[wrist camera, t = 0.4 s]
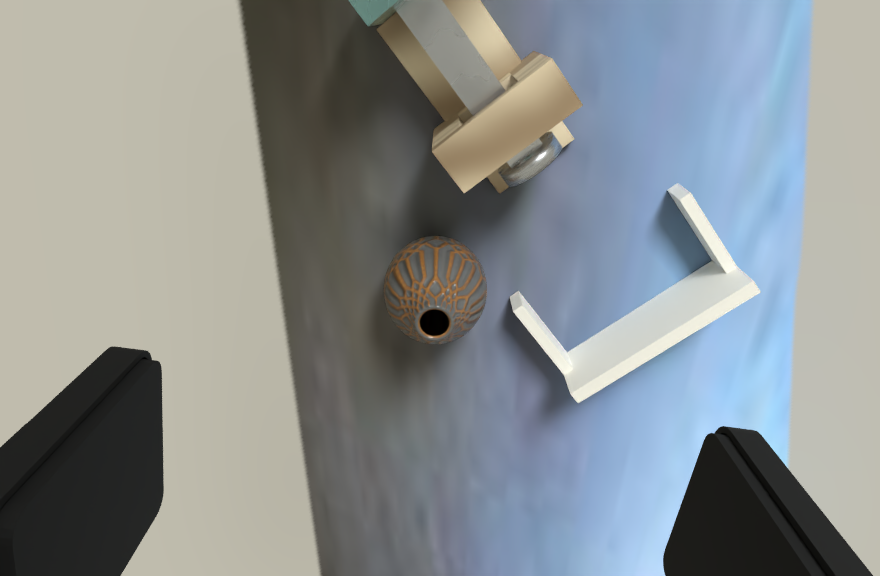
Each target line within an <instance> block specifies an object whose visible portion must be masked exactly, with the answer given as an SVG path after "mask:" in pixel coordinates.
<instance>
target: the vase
mask: <svg viewBox="0 0 880 576" xmlns="http://www.w3.org/2000/svg"><path fill="white" fill-rule="evenodd" d="M486 297H487V284H486V278H485V274H484V271H483V268H482V266H481V264H480V262H479V260H478V259H477V257H476V256H475V255H474V253H473V252H472V251H471V250H470V249H469V248H467V247H466V246H465V245H463V244H462V243H460V242H458V241H456V240H454V239H451V238H448V237H443V236H428V237H423V238H420V239H417V240H415V241H413V242H411V243H409V244H407V245H406V246H405V247H404V248H402V249H401V250H400V251H399V252H398V253H397V254H396V256H395V257H394V258H393V260H392V262H391V264H390V266H389V268H388V270H387V273H386V277H385V282H384V299H385V304H386V307H387V310H388V312H389V315H390V317H391V318H392V320H393V322H394V323H395V324H396V326H397V327H398V328H399V329H400V330H401V331H402V332H403V333H405V334H406V335H407V336H409V337H410V338H412V339H414V340H417V341H419V342H423V343H427V344H443V343H448V342H451V341H454V340H456V339H458V338H460V337H462V336H463V335H465V334H466V333H467V332H468V331H469V330H471V328H472V327H473V326H474V325H475V324H476V322H477V321H478V319H479V318H480V316H481V314H482V312H483V309H484V306H485V302H486Z"/></svg>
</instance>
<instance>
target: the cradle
mask: <svg viewBox="0 0 880 576" xmlns="http://www.w3.org/2000/svg"><path fill="white" fill-rule="evenodd" d="M667 191H668V192H669V194H670V195H671V197H672V198H673V200H674V202H675V203H676V205H677V206H678V208H679V209H680V211H681V212H682V214H683V216H684V217H685V219H686V220H687V222H688V223H689V225H690V226H691V228H692V230H693V231H694V233H695V234H696V236H697V237H698V239H699V240H700V242H701V244H702V245H703V247H704V248H705V250H706V251H707V253H708V254H709V256H710V258H711V259H712V261H710V262H709V263H707V264H706V265H704V266H703V267H701V268H699V269H698V270H696V271H695V272H693V273H691V274H690V275H688V276H687V277H685V278H684V279H682V280H680V281H679V282H677V283H676V284H674V285H673V286H671V287H669V288H668V289H666V290H665V291H663V292H662V293H660V294H658V295H657V296H655V297H654V298H652V299H651V300H649V301H647V302H646V303H644V304H643V305H641V306H640V307H638V308H636V309H635V310H633V311H632V312H630V313H629V314H627V315H625V316H624V317H622V318H621V319H619V320H618V321H616V322H614V323H613V324H611V325H610V326H608V327H606V328H605V329H603V330H602V331H600V332H599V333H597V334H595V335H594V336H592V337H591V338H589V339H588V340H586V341H584V342H583V343H581V344H580V345H578V346H577V347H575V348H573V349H572V350H570V351H569V352H566V351H565V349H564V348H563V347H562V345H561V344H560V343H559V342H558V340H557V339H556V338H555V337H554V335H553V334H552V333H551V331H550V330H549V329H548V328H547V326H546V325H545V324H544V323H543V321H542V320H541V319H540V317H539V316H538V315H537V314H536V312H535V311H534V310H533V309H532V307H531V306H530V305H529V303H528V302H527V301H526V300H525V298H524V297H523V296H522V295H521V293H520V292H519V291H518V292H516V293H515V294H513V295H512V296H510V301H511V305H512V309H513V312H514V313H515V315H516V316H517V317H518V318H519V319H520V321H521V322H522V323H523V324H524V326H525V327H526V328H527V329H528V331H529V332H530V333H531V334H532V336H533V337H534V338H535V339H536V341H537V342H538V343H539V344H540V346H541V347H542V348H543V349H544V351H545V352H546V353H547V354H548V356H549V357H550V358H551V359H552V361H553V362H554V363H555V364H556V366H557V367H558V368H559V369H560V371H561V372H562V373H563V374H564V377H565V380H566V383H567V386H568V388H569V391H570V394H571V395H572V397H573V398H574V399H575V400H576V401H577V403H580V402H581V401H583V400H584V399H586V398H588V397H589V396H591V395H593V394H594V393H596V392H598V391H599V390H601V389H602V388H604V387H606V386H607V385H609V384H611V383H612V382H614V381H616V380H617V379H619V378H621V377H622V376H624V375H625V374H627V373H629V372H630V371H632V370H634V369H635V368H637V367H639V366H640V365H642V364H644V363H645V362H647V361H648V360H650V359H652V358H653V357H655V356H657V355H658V354H660V353H662V352H663V351H665V350H667V349H668V348H670V347H671V346H673V345H675V344H676V343H678V342H680V341H681V340H683V339H685V338H686V337H688V336H690V335H691V334H693V333H694V332H696V331H698V330H699V329H701V328H703V327H704V326H706V325H708V324H709V323H711V322H713V321H714V320H716V319H717V318H719V317H721V316H722V315H724V314H726V313H727V312H729V311H731V310H732V309H734V308H736V307H737V306H739V305H740V304H742V303H744V302H745V301H747V300H749V299H750V298H752V297H754V296H755V295H757V294H759V293H760V290H759V289H758V287H757V285H756V284H755V282H754V281H753V280H752V279H751V278H750V277H749V276H747V275H746V274H745V273H744V272H743V271H742V270H740V269H739V268H738V267H737V266H736V264H735V262H734V261H733V259H732V258H731V256H730V255H729V253H728V251H727V250H726V248H725V247H724V245H723V243H722V242H721V240H720V239H719V237H718V235H717V234H716V232H715V231H714V229H713V228H712V226H711V224H710V223H709V221H708V220H707V218H706V216H705V215H704V213H703V212H702V210H701V208H700V207H699V205H698V204H697V202H696V201H695V199H694V197H693V196H692V194H691V193H690V192H689V191H688V190H686V189H685V188H684V187H682V186H681V185H679V184H678V183H677V184H675V185H674V186H672V187H671V188H669V189H668V190H667Z"/></svg>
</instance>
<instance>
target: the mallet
mask: <svg viewBox="0 0 880 576" xmlns="http://www.w3.org/2000/svg"><path fill="white" fill-rule="evenodd" d="M348 1H349V2H350V3H351V5H352V6H353V7H354V9H355V10H356V11H357V13H358V14H359V15H360V17H361V18H362V19H363V21H364V22H365V23H366V25H367V26H374V25H380V24H382V23H383V22H385V21H386V20H387V19H388V18H389V17H390V16H392V15H393V14H394V13H395V12H396V11H397V13H398V14H399V15H400V17H401V18H402V19H403V21H404V22H405V24H406V25H407V26H408V28H409V29H410V30H411V32H412V33H413V35H414V36H415V37H416V39H417V40H418V41H419V43H420V44H421V45H422V47H423V48H424V50H425V51H426V52H427V54H428V55H429V56H430V58H431V59H432V61H433V62H434V63H435V65H436V66H437V67H438V69H439V70H440V71H441V73H442V74H443V76H444V77H445V78H446V80H447V81H448V82H449V84H450V85H451V87H452V88H453V89H454V91H455V92H456V93H457V95H458V96H459V97H460V99H461V100H462V102H463V103H464V104H465V106H466V107H467V108H468V110H469V111H470V113H471V114H472V115H473V116H474V115H475V114H477V113H478V112H479V111H481V110H482V109H483V108H484V107H486V106H487V105H488V104H490V103H491V102H492V101H493V100H495V99H496V98H497V97H499V96H500V95H501V94H502V93H504V92H505V89H504V88H503V86H502V85H501V83H500V82H499V81H498V79H497V78H496V76H495V75H494V73H493V72H492V71H491V69H490V68H489V66H488V65H487V63H486V62H485V61H484V59H483V58H482V56H481V55H480V53H479V52H478V51H477V49H476V48H475V46H474V45H473V43H472V42H471V41H470V39H469V38H468V36H467V35H466V33H465V32H464V31H463V29H462V28H461V26H460V25H459V24H458V22H457V21H456V19H455V18H454V16H453V15H452V14H451V12H450V11H449V9H448V8H447V6H446V5H445V4H444V2H443V1H442V0H348ZM561 150H562V146H561V144H560V143H559V141H558V140H557V138H556V137H555V135H554V134H553V133H552V132H546V133H545V134H544V135H542V136H541V137H540V138H538V139H537V140H536V141H534V142H533V143H531V144H530V145H529V146H527V147H526V148H525V149H523V150H522V151H521V152H519V153H518V154H517V155H515V156H514V157H513V158H511V159H510V160H509V161H507V162H506V163H505V164H503V165H502V166H501V167H500V168H499V170H498V173H499V174H500V176H501V177H502V178H503V180H504V181H505V182H506V184H507V185H508V186H509V187H513V186H517V185H519V184H522V183H524V182H525V181H527V180H529V179H531V178H532V177H534V176H535V175H537V174H538V173H540V172H541V171H542V170H543V169H545V168H546V167H547V166H548V165H549V164H550V163H551V162H552V161H553V160H554V159H555V158H556V157H557V156H558V155H559V153H560V152H561Z"/></svg>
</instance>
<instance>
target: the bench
mask: <svg viewBox="0 0 880 576" xmlns="http://www.w3.org/2000/svg"><path fill="white" fill-rule="evenodd" d="M442 1H443V2H444V4H445V5H446V6H447V8H448V9H449V11H450V12H451V14H452V15H453V16H454V18H455V19H456V21H457V22H458V24H459V25H460V26H461V28H462V29H463V31H464V32H465V33H466V35H467V36H468V38H469V39H470V41H471V42H472V43H473V45H474V46H475V48H476V49H477V51H478V52H479V53H480V55H481V56H482V58H483V59H484V61H485V62H486V63H487V65H488V66H489V68H490V69H491V71H492V72H493V73H494V75H495V76H496V78H497V79H498V81H499V82H500V83H501V85H502V86H503V88H504V89H505V92H504V93H502V94H501V95H500V96H499V97H497V98H496V99H495V100H493V101H492V102H491V103H490V104H488V105H487V106H486V107H484V108H483V109H482V110H481V111H479V112H478V113H477V114H475V115H474V116H473V115H472V114H471V113H470V111H469V110H468V108H467V107H466V106H465V104H464V103H463V102H462V100H461V99H460V97H459V96H458V95H457V93H456V92H455V91H454V89H453V88H452V87H451V85H450V84H449V82H448V81H447V80H446V78H445V77H444V76H443V74H442V73H441V71H440V70H439V69H438V67H437V66H436V65H435V63H434V62H433V61H432V59H431V58H430V56H429V55H428V54H427V52H426V51H425V50H424V48H423V47H422V45H421V44H420V43H419V41H418V40H417V39H416V37H415V36H414V35H413V33H412V32H411V30H410V29H409V28H408V26H407V25H406V24H405V22H404V21H403V19H402V18H401V17H400V15H399V14H398V13H397V12H396V13H395V14H394V15H392V16H391V17H390V18H389V19H388V20H387V21H385V22H384V23H383V24H382V25H381V26H380V27H378V28H377V29H376V30H377V31H378V32H379V34H380V35H381V36H382V38H383V39H384V40H385V42H386V43H387V44H388V46H389V47H390V48H391V50H392V51H393V52H394V54H395V55H396V56H397V58H398V59H399V60H400V62H401V63H402V64H403V66H404V67H405V68H406V70H407V71H408V72H409V74H410V75H411V76H412V78H413V79H414V80H415V82H416V83H417V84H418V86H419V87H420V88H421V90H422V91H423V92H424V94H425V95H426V96H427V98H428V99H429V100H430V102H431V103H432V104H433V106H434V107H435V108H436V110H437V111H438V112H439V114H440V115H441V116H442V118H443V119H444V120H445V121H444V122H443V123H441V124H440V125H439V126H437V127H436V128H435V129H434V131H433V143H432V153H433V154H434V155H435V157H436V158H437V159H438V160H439V162H440V163H441V164H442V166H443V167H444V168H445V169H446V171H447V172H448V173H449V175H450V176H451V177H452V179H453V180H454V181H455V182H456V184H457V185H458V186H459V188H460V189H461V190H462V191H463V193H466V192H467V191H468V190H470V189H471V188H472V187H474V186H475V185H476V184H478V183H479V182H480V181H482V180H483V179H484V178H486V177H487V178H488V179H489V180H490V182H491V183H492V184H493V186H494V187H495V188H496V190H497V191H498V192H499V194H500V193H501V192H503V191H504V190H506V189H507V188H508V187H509V186H508V185H507V184H506V182H505V181H504V180H503V178H502V177H501V176H500V174H499V173H498V170H499V168H500V167H501V166H502V165H503V164H505V163H506V162H507V161H509V160H510V159H511V158H513V157H514V156H515V155H517V154H518V153H519V152H521V151H522V150H523V149H525V148H526V147H527V146H529V145H530V144H531V143H533V142H534V141H536V140H537V139H538V138H540V137H541V136H542V135H544V134H545V133H546V132H552V133H553V134H554V135H555V137H556V138H557V140H558V141H559V143H560V144H561V146H562V148H563V147H564V146H566V145H567V144H568V143H570V142H571V141H573V140H574V138H573V136H572V135H571V133H570V132H569V130H568V129H567V127H566V126H565V125H564V123H563V122H562V120H564V119H565V118H566V117H568V116H569V115H571V114H572V113H573V112H575V111H576V110H577V109H579V108H580V107H581V106H583V104H582V103H581V101H580V100H579V98H578V97H577V95H576V94H575V92H574V91H573V89H572V88H571V86H570V85H569V83H568V82H567V80H566V79H565V77H564V76H563V74H562V73H561V71H560V70H559V68H558V67H557V65H556V64H555V62H554V61H553V59H552V58H550V57H547V56H545V55H542V54H540V53H537V52H535V51H533V52H532V53H530V54H529V55H528V56H527V57H525V58H524V59H523V60H520V58H519V57H518V55H517V54H516V52H515V51H514V49H513V48H512V47H511V45H510V44H509V42H508V41H507V39H506V38H505V36H504V35H503V33H502V32H501V30H500V29H499V27H498V26H497V24H496V23H495V22H494V20H493V19H492V17H491V16H490V14H489V13H488V11H487V10H486V8H485V7H484V5H483V4H482V2H481V1H480V0H442Z"/></svg>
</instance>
